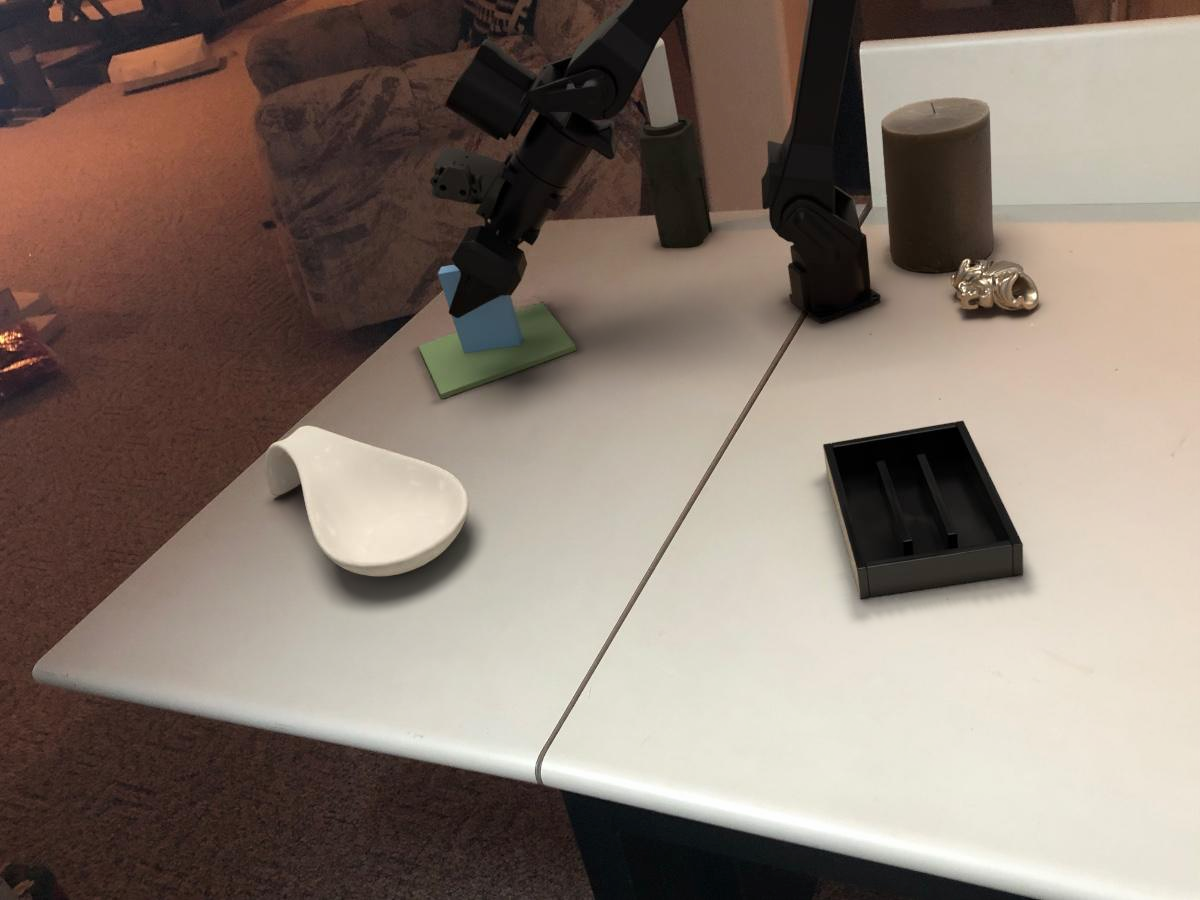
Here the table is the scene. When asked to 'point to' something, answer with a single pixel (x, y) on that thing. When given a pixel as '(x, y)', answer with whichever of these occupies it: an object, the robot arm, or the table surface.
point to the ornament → (994, 285)
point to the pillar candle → (938, 183)
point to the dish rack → (920, 511)
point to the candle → (672, 161)
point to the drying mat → (495, 353)
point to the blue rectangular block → (482, 318)
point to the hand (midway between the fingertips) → (463, 293)
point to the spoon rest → (368, 501)
